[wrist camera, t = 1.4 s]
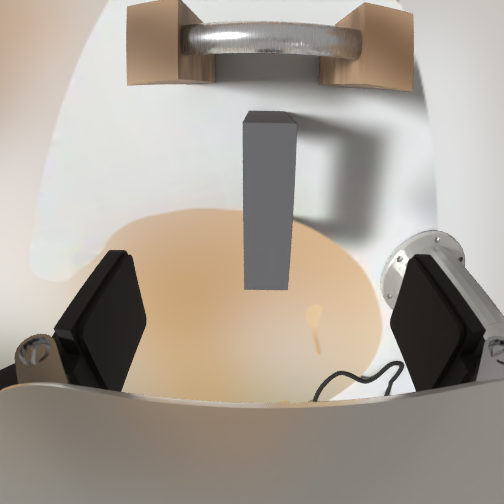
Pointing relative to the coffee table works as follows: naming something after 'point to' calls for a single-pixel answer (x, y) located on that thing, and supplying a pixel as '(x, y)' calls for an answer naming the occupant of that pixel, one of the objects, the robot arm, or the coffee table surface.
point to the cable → (361, 378)
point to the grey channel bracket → (268, 198)
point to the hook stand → (270, 45)
